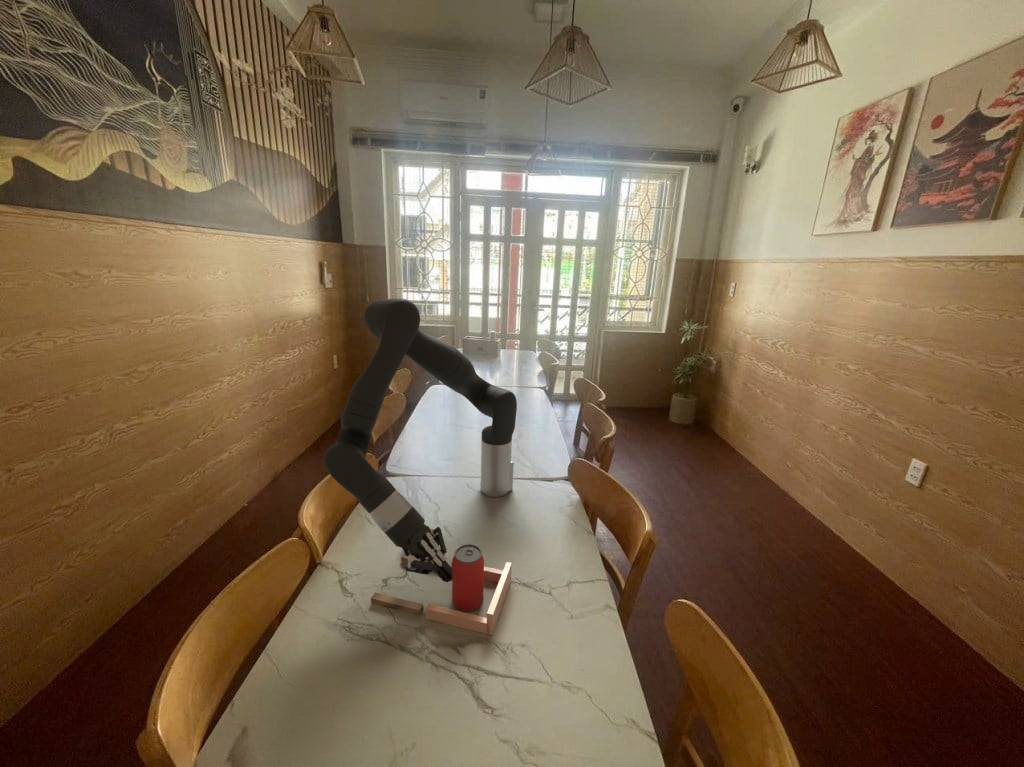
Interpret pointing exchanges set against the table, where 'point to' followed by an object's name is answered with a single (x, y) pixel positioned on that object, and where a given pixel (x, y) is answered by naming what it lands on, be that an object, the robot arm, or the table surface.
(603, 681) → the table surface
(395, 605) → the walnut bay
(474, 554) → the beer can
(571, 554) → the table surface
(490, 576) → the terracotta bay
